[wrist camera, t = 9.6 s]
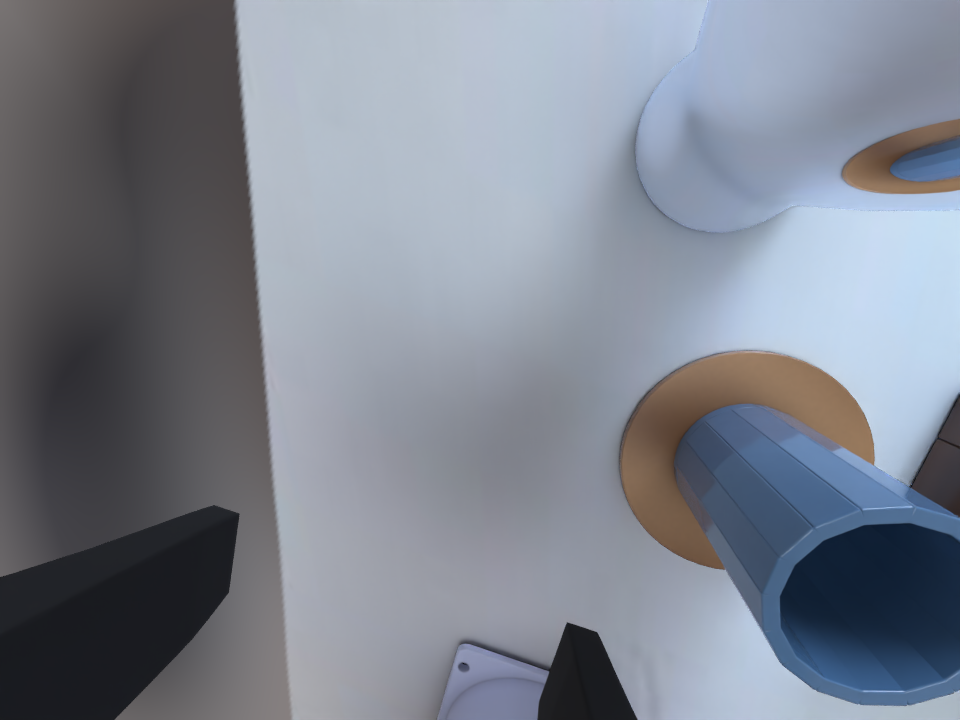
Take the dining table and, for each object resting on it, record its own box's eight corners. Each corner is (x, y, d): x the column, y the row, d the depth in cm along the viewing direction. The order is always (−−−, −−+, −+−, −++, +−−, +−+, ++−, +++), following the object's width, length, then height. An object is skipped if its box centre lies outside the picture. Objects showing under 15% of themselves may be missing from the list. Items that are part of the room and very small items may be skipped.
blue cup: (782, 541, 17) (950, 736, 10) (655, 502, 18) (728, 662, 11) (837, 424, 16) (1071, 551, 9) (699, 387, 17) (816, 478, 9)
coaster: (808, 593, 18) (814, 600, 18) (591, 526, 19) (592, 531, 18) (911, 388, 16) (921, 391, 16) (662, 322, 17) (664, 324, 16)
